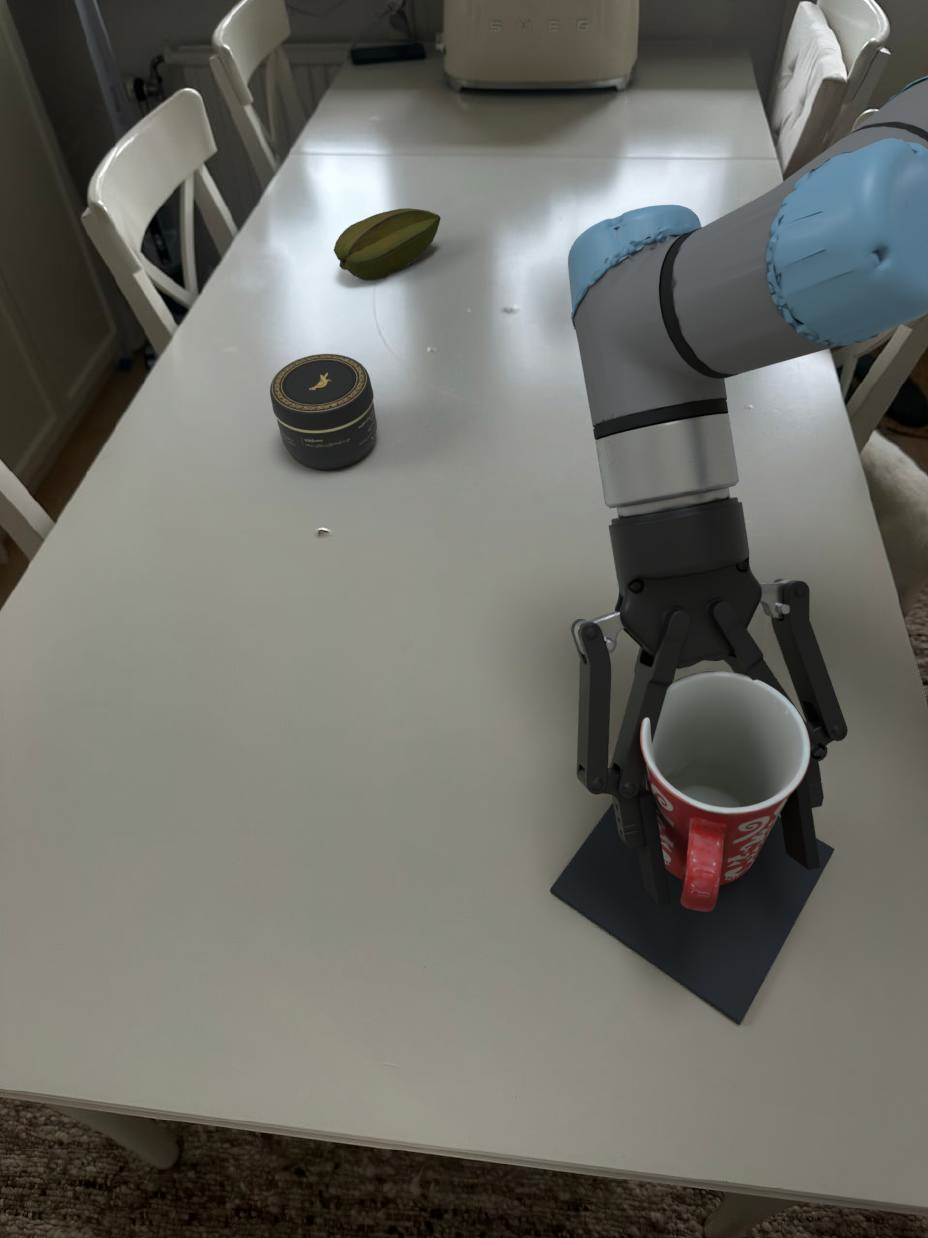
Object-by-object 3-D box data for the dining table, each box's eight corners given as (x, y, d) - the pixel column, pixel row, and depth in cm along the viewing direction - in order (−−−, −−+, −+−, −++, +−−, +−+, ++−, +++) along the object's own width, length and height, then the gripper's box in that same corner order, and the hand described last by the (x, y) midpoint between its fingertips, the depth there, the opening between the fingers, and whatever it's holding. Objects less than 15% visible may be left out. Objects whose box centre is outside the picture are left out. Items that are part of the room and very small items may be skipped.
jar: (384, 411, 93) (374, 349, 87) (376, 474, 86) (365, 412, 80) (292, 414, 93) (276, 352, 87) (277, 476, 87) (259, 414, 81)
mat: (832, 852, 60) (834, 848, 59) (738, 1025, 53) (740, 1023, 52) (654, 747, 65) (655, 743, 65) (549, 892, 59) (550, 888, 58)
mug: (648, 758, 62) (658, 654, 51) (780, 790, 59) (819, 687, 49) (607, 929, 55) (608, 852, 45) (753, 973, 53) (791, 902, 42)
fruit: (355, 242, 116) (348, 193, 111) (443, 246, 114) (440, 195, 109) (334, 288, 109) (325, 238, 104) (428, 292, 107) (423, 241, 102)
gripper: (813, 475, 54) (860, 819, 57) (481, 538, 52) (545, 891, 54) (884, 465, 47) (935, 861, 49) (501, 537, 45) (574, 947, 47)
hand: (730, 877), depth 52 cm, fingers closed on mug, 8 cm apart
